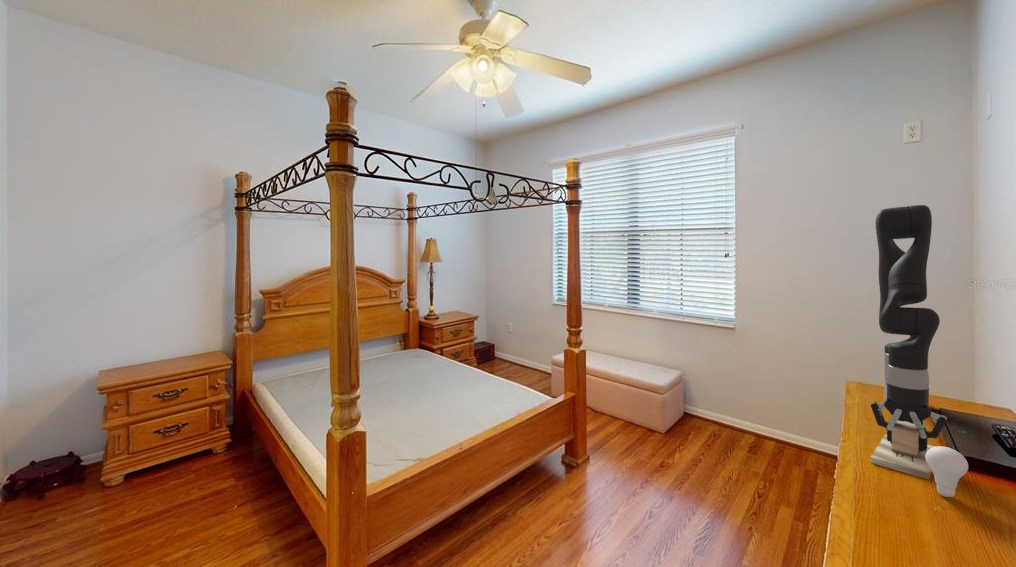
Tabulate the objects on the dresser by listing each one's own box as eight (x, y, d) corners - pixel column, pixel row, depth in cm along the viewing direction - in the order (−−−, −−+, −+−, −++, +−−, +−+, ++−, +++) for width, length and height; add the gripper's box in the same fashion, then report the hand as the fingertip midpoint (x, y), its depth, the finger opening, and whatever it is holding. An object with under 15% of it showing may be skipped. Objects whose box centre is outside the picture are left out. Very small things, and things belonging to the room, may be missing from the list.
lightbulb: (964, 494, 82) (965, 446, 82) (970, 509, 78) (971, 458, 77) (923, 484, 87) (923, 438, 86) (926, 497, 82) (927, 449, 81)
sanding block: (897, 440, 103) (897, 419, 102) (921, 446, 99) (921, 424, 99) (891, 450, 98) (891, 428, 98) (916, 457, 94) (917, 434, 94)
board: (884, 439, 107) (885, 434, 107) (938, 452, 99) (938, 447, 99) (870, 462, 96) (870, 456, 96) (928, 479, 88) (928, 473, 88)
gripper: (951, 386, 94) (949, 452, 95) (872, 374, 105) (872, 433, 106) (948, 394, 89) (946, 463, 91) (866, 380, 101) (866, 441, 102)
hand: (906, 446), depth 98 cm, fingers closed on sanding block, 4 cm apart
